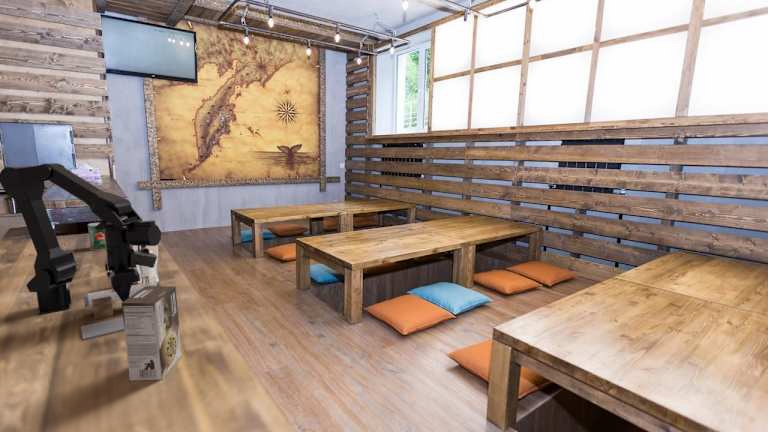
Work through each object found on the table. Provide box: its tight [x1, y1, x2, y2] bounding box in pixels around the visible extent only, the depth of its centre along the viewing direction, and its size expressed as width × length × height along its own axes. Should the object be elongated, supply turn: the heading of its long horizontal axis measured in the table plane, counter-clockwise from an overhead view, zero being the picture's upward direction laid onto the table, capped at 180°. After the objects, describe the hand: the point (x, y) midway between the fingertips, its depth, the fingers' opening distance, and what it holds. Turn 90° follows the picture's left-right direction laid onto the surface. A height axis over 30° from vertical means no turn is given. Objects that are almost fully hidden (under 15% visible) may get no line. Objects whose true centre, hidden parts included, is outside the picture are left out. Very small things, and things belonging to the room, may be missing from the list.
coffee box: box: [120, 285, 183, 382], centre depth 78 cm, size 9×6×16 cm
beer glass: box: [132, 245, 160, 285], centre depth 127 cm, size 7×7×15 cm
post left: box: [91, 298, 114, 320], centre depth 103 cm, size 4×5×5 cm
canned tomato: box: [87, 221, 106, 251], centre depth 170 cm, size 8×8×11 cm
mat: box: [80, 316, 125, 341], centre depth 99 cm, size 20×8×1 cm, turn 130°
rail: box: [83, 281, 161, 308], centre depth 106 cm, size 17×3×3 cm, turn 130°
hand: (124, 299), depth 106 cm, fingers open, 5 cm apart
